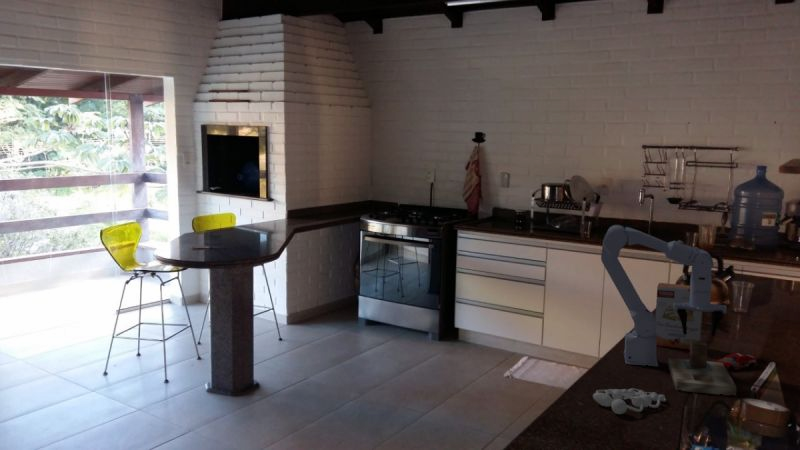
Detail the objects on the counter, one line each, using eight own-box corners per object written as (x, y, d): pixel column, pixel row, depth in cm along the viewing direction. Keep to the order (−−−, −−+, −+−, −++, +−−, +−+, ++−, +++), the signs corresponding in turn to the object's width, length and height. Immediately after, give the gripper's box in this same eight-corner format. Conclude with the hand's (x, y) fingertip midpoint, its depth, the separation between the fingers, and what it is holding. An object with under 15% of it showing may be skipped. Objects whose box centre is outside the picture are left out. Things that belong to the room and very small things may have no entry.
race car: (724, 373, 190) (725, 360, 190) (711, 367, 195) (712, 354, 195) (760, 368, 194) (761, 355, 193) (746, 362, 199) (747, 350, 198)
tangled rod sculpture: (639, 393, 179) (639, 378, 179) (680, 408, 165) (680, 392, 165) (583, 402, 171) (583, 387, 171) (621, 419, 158) (621, 402, 158)
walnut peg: (691, 367, 187) (692, 344, 186) (689, 362, 191) (690, 340, 190) (706, 368, 186) (707, 345, 185) (703, 363, 189) (705, 341, 189)
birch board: (676, 390, 177) (676, 381, 176) (668, 366, 196) (668, 357, 195) (736, 396, 172) (736, 386, 172) (721, 370, 191) (722, 362, 191)
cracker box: (653, 346, 215) (656, 285, 212) (655, 341, 220) (658, 282, 217) (699, 352, 208) (702, 289, 205) (700, 346, 213) (703, 285, 211)
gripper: (675, 292, 189) (674, 336, 191) (729, 295, 185) (727, 340, 187) (673, 287, 196) (671, 329, 198) (724, 289, 192) (722, 333, 194)
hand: (698, 334), depth 193 cm, fingers open, 7 cm apart
